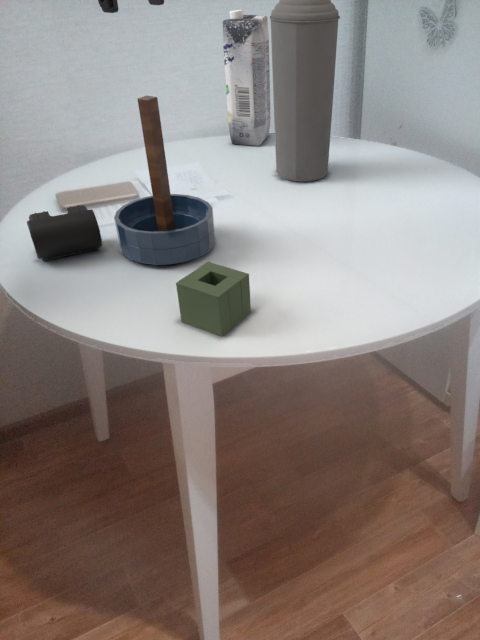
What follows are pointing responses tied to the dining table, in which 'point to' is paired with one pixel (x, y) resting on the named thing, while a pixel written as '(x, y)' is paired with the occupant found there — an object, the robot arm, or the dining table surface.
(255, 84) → the juice carton
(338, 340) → the dining table surface
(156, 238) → the bowl
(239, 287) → the holder
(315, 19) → the canister
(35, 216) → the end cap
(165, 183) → the stick
